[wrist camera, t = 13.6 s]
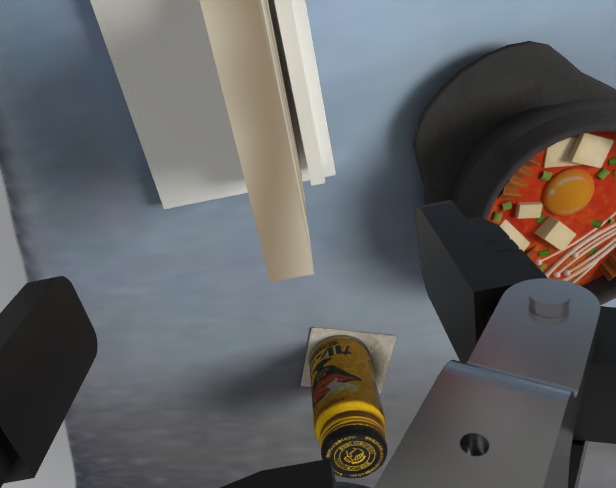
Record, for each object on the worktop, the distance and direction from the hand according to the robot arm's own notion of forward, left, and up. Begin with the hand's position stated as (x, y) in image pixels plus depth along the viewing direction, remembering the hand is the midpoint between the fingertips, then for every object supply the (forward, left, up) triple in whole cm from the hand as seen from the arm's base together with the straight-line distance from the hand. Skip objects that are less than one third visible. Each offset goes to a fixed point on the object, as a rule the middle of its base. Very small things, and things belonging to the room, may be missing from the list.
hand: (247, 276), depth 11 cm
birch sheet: (0, 0, -28) cm, 28 cm away
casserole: (-20, +13, -29) cm, 38 cm away
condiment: (-2, +28, -29) cm, 41 cm away
